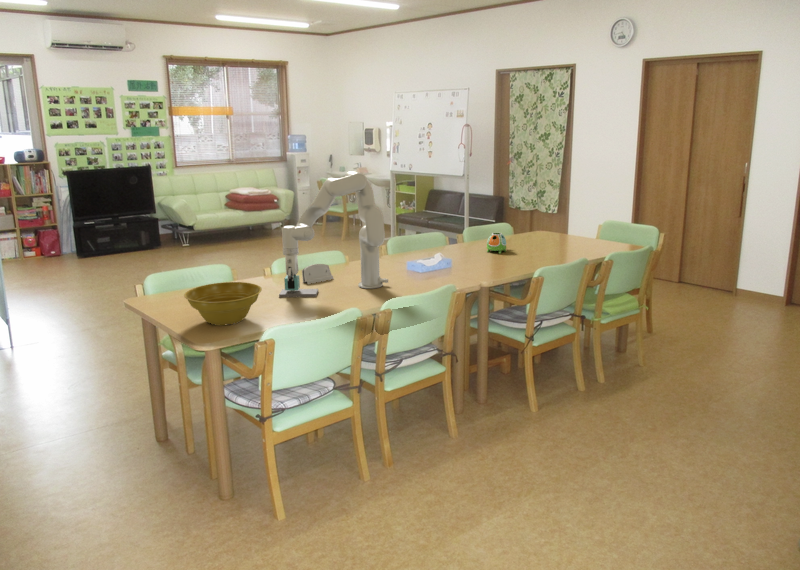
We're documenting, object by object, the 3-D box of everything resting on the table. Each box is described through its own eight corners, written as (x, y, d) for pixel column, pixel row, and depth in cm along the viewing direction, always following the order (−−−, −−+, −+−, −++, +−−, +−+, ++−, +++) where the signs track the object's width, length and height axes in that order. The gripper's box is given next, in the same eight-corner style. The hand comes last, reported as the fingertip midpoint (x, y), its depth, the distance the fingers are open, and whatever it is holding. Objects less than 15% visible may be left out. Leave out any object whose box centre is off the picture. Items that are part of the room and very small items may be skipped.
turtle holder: (510, 249, 428) (511, 231, 425) (502, 254, 412) (503, 235, 409) (492, 247, 433) (493, 229, 430) (483, 252, 418) (484, 234, 415)
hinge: (307, 284, 344) (303, 265, 344) (303, 285, 348) (299, 267, 348) (334, 279, 354) (330, 261, 354) (329, 280, 358) (326, 262, 358)
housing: (299, 287, 326) (299, 275, 325) (298, 290, 320) (297, 278, 319) (286, 287, 326) (286, 275, 325) (284, 290, 320) (284, 278, 319)
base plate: (318, 291, 329) (317, 281, 328) (316, 296, 319) (315, 287, 318) (282, 292, 329) (281, 282, 328) (279, 297, 319) (278, 287, 318)
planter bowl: (202, 338, 262) (199, 305, 258) (176, 318, 287) (173, 289, 284) (276, 322, 280) (274, 292, 276) (245, 306, 305) (243, 278, 302)
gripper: (295, 254, 310) (297, 291, 315) (300, 247, 327) (302, 282, 332) (280, 254, 310) (281, 291, 315) (285, 247, 327) (287, 282, 331)
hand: (292, 286), depth 323 cm, fingers closed on housing, 6 cm apart
